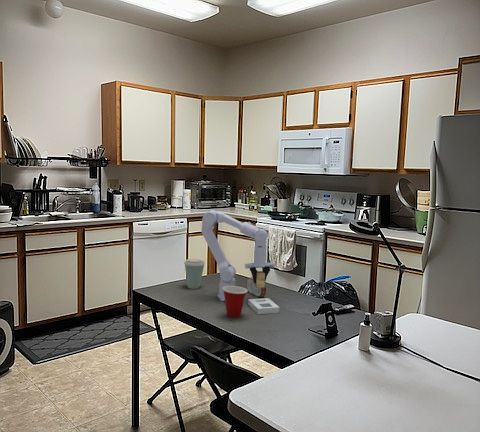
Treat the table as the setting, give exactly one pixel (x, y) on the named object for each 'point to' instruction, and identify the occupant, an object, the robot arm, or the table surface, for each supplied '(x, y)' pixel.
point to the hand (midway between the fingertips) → (259, 282)
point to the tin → (253, 290)
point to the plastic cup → (234, 300)
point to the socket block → (263, 306)
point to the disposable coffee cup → (194, 272)
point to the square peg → (260, 279)
